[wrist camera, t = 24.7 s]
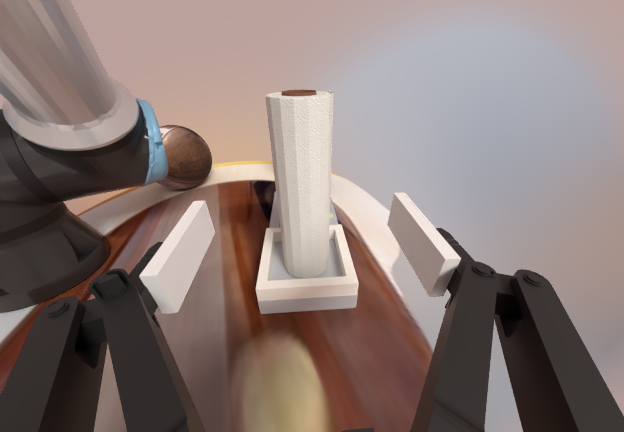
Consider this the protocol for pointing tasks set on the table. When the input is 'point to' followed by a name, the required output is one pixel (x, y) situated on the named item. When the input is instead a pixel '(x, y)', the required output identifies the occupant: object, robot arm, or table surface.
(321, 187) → the paper towel roll
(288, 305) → the board
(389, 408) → the table surface
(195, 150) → the wooden sphere
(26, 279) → the robot arm
